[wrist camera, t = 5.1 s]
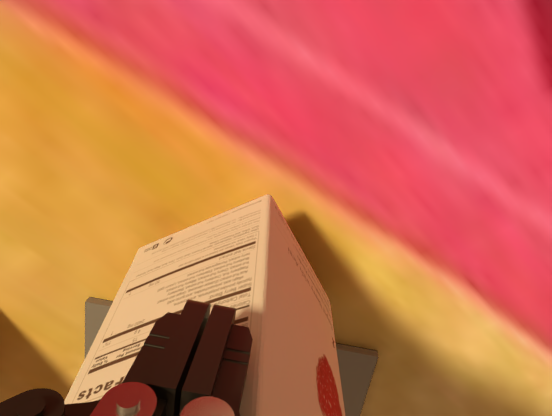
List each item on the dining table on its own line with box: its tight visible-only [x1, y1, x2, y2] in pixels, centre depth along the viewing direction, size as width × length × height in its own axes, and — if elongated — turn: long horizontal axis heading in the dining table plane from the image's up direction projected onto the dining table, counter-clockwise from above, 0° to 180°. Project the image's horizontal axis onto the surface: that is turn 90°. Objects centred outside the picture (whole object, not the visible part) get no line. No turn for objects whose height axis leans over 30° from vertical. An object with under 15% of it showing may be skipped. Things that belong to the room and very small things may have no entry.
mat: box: [85, 297, 378, 416], centre depth 31 cm, size 20×14×1 cm
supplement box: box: [64, 194, 345, 416], centre depth 19 cm, size 9×9×15 cm
